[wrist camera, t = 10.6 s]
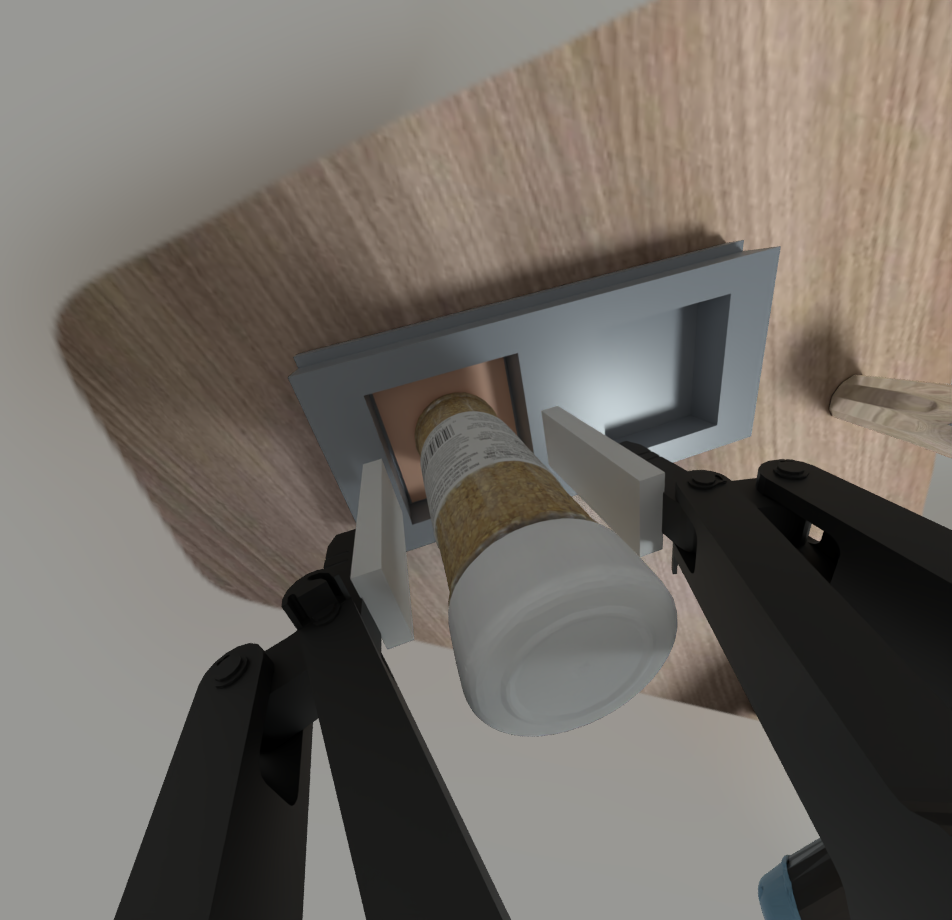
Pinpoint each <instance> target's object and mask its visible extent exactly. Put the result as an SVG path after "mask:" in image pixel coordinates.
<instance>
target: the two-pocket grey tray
mask: <svg viewBox="0 0 952 920" xmlns="http://www.w3.org/2000/svg"><path fill="white" fill-rule="evenodd" d="M743 243H744V240H741V241H735V242H729V243H724V244H720V245H716V246H713V247H709V248H705V249H701V250H697V251H693V252H689V253H686V254H682V255H678V256H674V257H670V258H666V259H662V260H659V261H655V262H651V263H647V264H643V265H639V266H635V267H631V268H628V269H624V270H620V271H616V272H612V273H608V274H604V275H601V276H597V277H593V278H589V279H585V280H581V281H577V282H574V283H570V284H566V285H562V286H558V287H554V288H550V289H547V290H543V291H539V292H535V293H531V294H527V295H523V296H520V297H516V298H512V299H508V300H504V301H500V302H496V303H493V304H489V305H485V306H481V307H477V308H473V309H469V310H466V311H462V312H458V313H454V314H450V315H446V316H442V317H439V318H435V319H431V320H427V321H423V322H419V323H415V324H412V325H408V326H404V327H400V328H396V329H392V330H388V331H384V332H381V333H377V334H373V335H369V336H365V337H361V338H357V339H354V340H350V341H346V342H342V343H338V344H334V345H330V346H327V347H323V348H319V349H315V350H311V351H307V352H303V353H300V354H297V355H296V356H294V357H293V358H294V360H295V362H296V364H297V367H298V369H297V370H296V371H295V372H293V373H292V374H291V375H290V376H289V377H288V379H289V381H290V383H291V385H292V387H293V390H294V392H295V394H296V396H297V398H298V400H299V402H300V404H301V407H302V409H303V411H304V413H305V415H306V417H307V419H308V422H309V424H310V426H311V428H312V430H313V432H314V434H315V436H316V439H317V441H318V443H319V445H320V447H321V449H322V451H323V453H324V456H325V458H326V460H327V462H328V464H329V466H330V468H331V471H332V473H333V475H334V477H335V479H336V481H337V483H338V485H339V488H340V490H341V492H342V494H343V496H344V498H345V500H346V503H347V505H348V507H349V509H350V511H351V513H352V515H353V517H354V520H355V522H356V523H357V514H358V506H359V497H360V488H361V479H362V470H363V464H366V463H369V462H372V461H376V460H379V459H382V461H383V464H384V466H385V469H386V472H387V474H388V477H389V479H390V482H391V484H392V487H393V490H394V492H395V495H396V497H397V500H398V503H399V505H400V508H401V510H402V515H403V525H404V536H405V546H406V552H407V551H410V550H413V549H416V548H419V547H422V546H425V545H428V544H431V543H434V542H436V540H435V536H434V531H433V526H432V522H431V517H430V512H429V507H428V502H427V497H426V492H425V487H424V482H423V476H422V471H421V465H420V459H421V457H420V455H419V453H418V451H417V449H416V442H415V428H416V425H417V421H418V418H419V417H420V415H421V414H422V413H423V411H424V409H425V408H426V407H427V406H428V405H429V404H430V403H431V402H432V401H434V400H435V399H437V398H439V397H442V396H444V395H446V394H451V393H463V392H466V393H469V394H473V395H476V396H478V397H480V398H482V399H483V400H485V401H486V402H487V403H488V405H490V406H491V407H492V408H493V410H494V411H495V413H496V415H497V417H498V418H499V419H500V420H502V421H503V422H504V423H505V424H506V425H507V426H508V427H509V428H510V429H511V430H512V431H513V432H514V433H515V434H516V435H517V436H518V437H519V438H520V440H521V441H522V442H523V443H524V444H525V445H526V446H527V447H528V448H529V449H530V451H531V452H532V453H533V454H534V455H535V456H536V457H537V458H538V459H539V460H540V461H541V462H542V463H543V464H544V465H545V466H546V467H547V468H548V469H549V471H550V472H551V473H552V474H553V475H554V476H555V477H556V478H557V479H558V481H559V482H560V483H561V485H562V486H563V488H564V490H565V491H566V492H567V493H568V494H569V495H570V496H574V495H577V493H576V492H575V491H574V490H573V489H572V488H571V487H570V486H569V485H568V484H567V483H566V482H565V481H564V480H563V479H562V478H561V477H560V476H559V475H558V474H557V473H556V472H555V471H554V470H553V469H552V468H551V467H550V466H549V462H548V455H547V448H546V441H545V434H544V427H543V420H542V413H541V411H542V410H545V409H548V408H552V407H555V406H559V407H560V408H562V409H564V410H565V411H567V412H568V413H570V414H572V415H573V416H575V417H576V418H578V419H580V420H581V421H583V422H585V423H586V424H588V425H589V426H591V427H593V428H594V429H596V430H597V431H599V432H601V433H602V434H604V435H605V436H607V437H609V438H610V439H612V440H614V441H615V442H617V443H621V442H624V441H629V442H633V443H637V444H641V445H642V446H644V447H646V448H648V449H649V450H651V452H655V453H656V454H658V455H659V456H660V457H661V456H662V457H663V458H665V459H667V460H669V461H670V462H672V463H673V462H676V461H679V460H682V459H685V458H688V457H691V456H694V455H697V454H700V453H703V452H706V451H709V450H712V449H715V448H717V447H720V446H723V445H726V444H729V443H732V442H735V441H738V440H741V439H744V438H747V437H750V436H751V434H752V427H753V421H754V414H755V408H756V401H757V395H758V389H759V382H760V376H761V369H762V363H763V357H764V350H765V344H766V337H767V331H768V324H769V318H770V312H771V305H772V299H773V292H774V286H775V279H776V273H777V267H778V260H779V254H780V247H781V246H779V247H771V248H763V249H755V250H748V251H743Z"/></svg>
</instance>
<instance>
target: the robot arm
mask: <svg viewBox="0 0 952 920" xmlns="http://www.w3.org/2000/svg"><path fill="white" fill-rule="evenodd" d="M541 413H542V420H543V427H544V434H545V441H546V448H547V455H548V462H549V466H550V467H551V468H552V469H553V470H554V471H555V472H556V473H557V474H558V475H559V476H560V477H561V478H562V479H563V480H564V481H565V482H566V483H567V484H568V485H569V486H570V487H571V488H572V489H573V490H574V491H575V492H576V493H577V494H578V495H579V496H580V497H581V498H582V499H583V500H584V501H585V502H586V503H587V504H588V505H589V506H590V507H591V508H592V509H593V510H594V511H595V512H596V513H597V514H598V515H599V516H600V517H601V518H602V519H603V520H604V521H605V522H606V523H607V524H608V525H609V526H610V527H611V529H612V530H613V531H614V532H615V533H616V534H617V535H618V536H619V537H620V538H621V539H622V540H623V541H624V542H625V543H626V544H627V545H628V546H629V547H630V548H631V549H632V550H633V551H634V552H635V553H636V554H637V555H638V556H639V557H642V556H645V555H648V554H650V553H653V552H656V551H659V550H661V549H662V547H663V534H664V535H666V536H667V537H668V538H669V539H670V540H671V541H673V550H672V573H673V574H677V566H678V564H679V566H680V568H681V570H682V573H683V574H684V576H685V578H686V580H687V582H688V584H689V586H690V588H691V590H692V591H693V593H694V595H695V597H696V599H697V601H698V603H699V605H700V607H701V609H702V611H703V613H704V615H705V617H706V618H707V620H708V622H709V624H710V626H711V628H712V630H713V632H714V634H715V636H716V638H717V640H718V642H719V644H720V645H721V647H722V649H723V651H724V653H725V655H726V657H727V659H728V661H729V663H730V665H731V667H732V669H733V670H734V672H735V674H736V676H737V678H738V680H739V682H740V684H741V686H742V688H743V690H744V692H745V694H746V696H747V697H748V699H749V701H750V703H751V705H752V707H753V709H754V711H755V713H756V715H757V717H758V719H759V721H760V723H761V724H762V726H763V728H764V730H765V732H766V734H767V736H768V738H769V740H770V741H771V744H772V746H773V748H774V750H775V751H776V753H777V755H778V757H779V759H780V761H781V763H782V765H783V767H784V769H785V771H786V773H787V775H788V776H789V778H790V780H791V782H792V784H793V786H794V788H795V790H796V792H797V794H798V796H799V798H800V800H801V802H802V803H803V805H804V807H805V809H806V811H807V813H808V815H809V817H810V819H811V821H812V823H813V825H814V827H815V829H816V831H817V832H818V834H819V836H820V838H819V839H817V840H815V841H814V842H812V843H810V844H809V845H807V846H805V847H804V848H802V849H801V850H799V851H797V852H795V853H794V854H792V855H786V856H784V857H783V859H782V862H781V863H780V864H779V865H777V866H776V867H775V868H773V869H772V870H771V871H769V872H768V873H767V874H765V875H764V876H763V877H762V878H761V880H760V882H759V885H758V897H759V901H760V905H761V909H762V913H763V916H764V918H765V920H952V530H950V529H948V528H946V527H944V526H942V525H940V524H937V523H935V522H933V521H931V520H929V519H927V518H925V517H922V516H920V515H918V514H916V513H914V512H912V511H910V510H908V509H905V508H903V507H901V506H899V505H897V504H895V503H893V502H890V501H888V500H886V499H884V498H882V497H880V496H878V495H875V494H873V493H871V492H869V491H867V490H865V489H863V488H860V487H858V486H856V485H854V484H852V483H850V482H848V481H845V480H843V479H841V478H839V477H837V476H835V475H833V474H830V473H828V472H826V471H824V470H822V469H820V468H818V467H815V466H813V465H810V464H807V463H804V462H800V461H795V460H789V459H786V460H785V459H779V460H772V461H768V462H765V463H763V464H761V466H760V467H759V469H758V474H757V478H753V479H745V480H736V481H731V480H730V479H728V478H727V477H726V476H724V475H722V474H719V473H716V472H713V471H706V470H693V471H686V470H684V469H683V468H681V467H679V466H677V465H676V464H674V463H672V462H670V461H669V460H667V459H665V458H663V457H662V456H661V457H660V456H659V455H658V454H656V453H655V452H651V450H649V449H648V448H646V447H644V446H642V445H641V444H637V443H633V442H629V441H624V442H621V443H617V442H615V441H614V440H612V439H610V438H609V437H607V436H605V435H604V434H602V433H601V432H599V431H597V430H596V429H594V428H593V427H591V426H589V425H588V424H586V423H585V422H583V421H581V420H580V419H578V418H576V417H575V416H573V415H572V414H570V413H568V412H567V411H565V410H564V409H562V408H560V407H559V406H555V407H552V408H548V409H545V410H542V411H541ZM811 524H813V525H815V526H817V527H818V528H820V529H821V530H823V531H824V532H823V535H822V539H821V541H817V540H815V539H813V538H811V537H810V536H808V535H809V531H810V528H811ZM282 608H283V610H284V611H285V612H286V614H287V615H288V617H289V618H290V620H291V621H292V623H293V624H294V626H295V627H296V628H297V631H296V632H295V633H293V634H292V635H290V636H289V637H288V638H286V639H284V640H282V641H281V642H279V643H278V644H276V645H274V646H273V647H271V648H269V649H268V650H266V651H264V650H263V649H262V648H261V647H260V646H259V645H258V644H253V643H248V644H245V645H241V646H238V647H236V648H235V649H233V650H231V651H229V652H227V653H226V654H225V655H224V656H222V657H221V658H220V659H218V660H217V661H216V662H215V663H214V664H213V665H212V666H211V668H210V669H209V670H208V671H207V672H206V673H205V675H204V676H203V678H202V680H201V682H200V684H199V686H198V689H197V691H196V694H195V697H194V700H193V702H192V705H191V708H190V711H189V714H188V716H187V719H186V722H185V724H184V727H183V730H182V733H181V735H180V738H179V741H178V744H177V747H176V750H175V752H174V755H173V758H172V760H171V763H170V766H169V769H168V771H167V774H166V777H165V780H164V782H163V785H162V788H161V791H160V794H159V796H158V799H157V802H156V805H155V807H154V810H153V813H152V816H151V819H150V821H149V824H148V827H147V829H146V832H145V835H144V838H143V841H142V843H141V846H140V849H139V852H138V854H137V857H136V860H135V863H134V866H133V868H132V871H131V874H130V877H129V879H128V882H127V885H126V888H125V890H124V893H123V896H122V899H121V902H120V904H119V907H118V910H117V912H116V915H115V918H114V920H302V918H303V899H304V880H305V861H306V842H307V824H308V806H309V785H310V768H311V749H312V729H313V722H314V721H315V720H317V719H318V718H319V722H320V725H321V730H322V735H323V739H324V743H325V747H326V751H327V756H328V760H329V764H330V768H331V773H332V776H333V781H334V785H335V789H336V794H337V798H338V802H339V806H340V810H341V815H342V819H343V823H344V827H345V832H346V836H347V840H348V844H349V848H350V853H351V857H352V861H353V865H354V870H355V874H356V878H357V882H358V886H359V891H360V895H361V899H362V904H363V908H364V912H365V916H366V920H511V919H510V916H509V914H508V912H507V910H506V909H505V906H504V904H503V902H502V900H501V898H500V896H499V894H498V892H497V890H496V888H495V885H494V883H493V882H492V879H491V877H490V875H489V873H488V871H487V869H486V867H485V865H484V863H483V861H482V859H481V857H480V855H479V853H478V851H477V848H476V846H475V845H474V842H473V840H472V838H471V836H470V834H469V832H468V830H467V828H466V826H465V824H464V822H463V819H462V818H461V815H460V813H459V811H458V809H457V807H456V805H455V803H454V801H453V799H452V797H451V795H450V793H449V791H448V789H447V786H446V784H445V782H444V780H443V778H442V776H441V774H440V772H439V770H438V768H437V766H436V764H435V762H434V759H433V757H432V756H431V753H430V752H429V749H428V748H427V745H426V743H425V741H424V739H423V737H422V735H421V733H420V731H419V729H418V727H417V724H416V722H415V720H414V718H413V716H412V714H411V712H410V710H409V708H408V706H407V704H406V702H405V700H404V698H403V695H402V694H401V691H400V689H399V687H398V686H397V683H396V681H395V679H394V677H393V675H392V673H391V671H390V669H389V667H388V664H387V663H386V661H385V659H384V657H383V655H382V653H381V638H382V640H383V642H384V644H385V645H386V648H387V649H390V648H393V647H396V646H398V645H401V644H404V643H407V642H409V641H412V640H414V631H413V621H412V610H411V600H410V589H409V578H408V568H407V557H406V546H405V536H404V525H403V515H402V510H401V508H400V505H399V503H398V500H397V497H396V495H395V492H394V490H393V487H392V484H391V482H390V479H389V477H388V474H387V472H386V469H385V466H384V464H383V461H382V459H379V460H376V461H372V462H369V463H366V464H363V470H362V479H361V488H360V497H359V506H358V514H357V523H356V529H354V530H350V531H347V532H344V533H341V534H338V535H336V536H335V538H334V539H333V540H332V542H331V543H330V545H329V546H328V549H327V554H326V560H325V563H324V569H321V570H316V571H314V572H311V573H309V574H307V575H305V576H304V577H302V578H301V579H299V580H298V581H296V582H295V583H294V584H293V585H292V586H291V587H290V588H289V589H288V590H287V592H286V594H285V595H284V597H283V599H282Z"/></svg>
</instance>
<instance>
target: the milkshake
mask: <svg viewBox="0 0 952 920" xmlns="http://www.w3.org/2000/svg"><path fill="white" fill-rule="evenodd" d="M829 410H830V412H831V414H832V416H833V417H835V418H837V419H840V420H843V421H846V422H849V423H852V424H855V425H858V426H861V427H864V428H867V429H869V430H872V431H875V432H878V433H881V434H884V435H887V436H890V437H893V438H896V439H899V440H902V441H905V442H907V443H910V444H913V445H916V446H919V447H922V448H925V449H927V450H930V451H933V452H936V453H938V454H941V455H944V456H947V457H949V458H952V384H943V383H933V382H924V381H914V380H905V379H895V378H886V377H876V376H866V375H853V376H852V377H850V378H849V379H847V380H846V381H844V382H842V383H841V385H840V386H839V387H838V389H837V390H836V392H835V393H834V394H833V396H832V399H831V403H830V407H829Z"/></svg>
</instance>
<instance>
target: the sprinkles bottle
mask: <svg viewBox="0 0 952 920" xmlns="http://www.w3.org/2000/svg"><path fill="white" fill-rule="evenodd" d="M415 442H416V449H417V451H418V453H419V455H420V457H421V459H420V465H421V471H422V476H423V482H424V487H425V492H426V497H427V502H428V507H429V512H430V517H431V522H432V526H433V531H434V536H435V540H436V543H437V546H438V548H439V549H440V552H441V556H442V561H443V564H444V569H445V573H446V577H447V582H448V587H449V591H450V595H449V601H448V604H449V611H448V616H449V629H450V634H451V640H452V645H453V650H454V655H455V659H456V664H457V668H458V673H459V677H460V681H461V685H462V689H463V692H464V695H465V698H466V700H467V702H468V704H469V706H470V708H471V709H472V711H473V712H474V713H475V714H476V716H477V717H478V718H479V719H481V720H482V721H483V722H484V723H486V724H487V725H489V726H490V727H492V728H494V729H496V730H498V731H501V732H504V733H508V734H511V735H518V736H545V735H554V734H558V733H562V732H566V731H570V730H573V729H576V728H579V727H581V726H585V725H588V724H590V723H592V722H594V721H596V720H598V719H601V718H603V717H604V716H606V715H608V714H610V713H612V712H613V711H615V710H616V709H618V708H620V707H621V706H622V705H624V704H625V703H627V702H628V701H629V700H630V699H632V698H633V697H634V696H635V695H637V694H638V693H639V692H640V691H641V690H642V689H643V688H644V687H645V686H646V685H647V684H648V683H649V682H650V681H651V680H652V679H653V678H654V677H655V675H656V674H657V673H658V671H659V670H660V669H661V667H662V666H663V664H664V662H665V661H666V659H667V657H668V656H669V653H670V651H671V649H672V647H673V644H674V641H675V638H676V632H677V611H676V607H675V603H674V599H673V597H672V596H671V594H670V592H669V591H668V589H667V588H666V586H665V585H664V584H663V582H662V581H661V580H660V579H659V578H658V577H657V576H656V574H655V573H654V572H653V571H652V570H651V569H650V568H649V567H648V566H647V565H646V564H645V562H644V561H643V560H642V559H641V558H640V557H639V556H638V555H637V554H636V553H635V552H634V551H633V550H632V549H631V548H630V547H629V546H628V545H627V544H626V543H625V542H624V541H623V540H622V539H621V538H620V537H619V536H618V535H617V534H616V533H615V532H614V531H612V530H611V529H609V528H607V527H605V526H603V525H601V524H599V523H597V522H596V521H595V520H593V519H592V518H591V517H590V516H589V515H588V514H587V513H586V512H585V511H584V510H583V509H582V508H581V506H580V505H579V504H578V503H577V502H575V501H574V500H573V498H572V497H571V496H570V495H569V494H568V493H567V492H566V491H565V490H564V488H563V486H562V485H561V483H560V482H559V481H558V479H557V478H556V477H555V476H554V475H553V474H552V473H551V472H550V471H549V469H548V468H547V467H546V466H545V465H544V464H543V463H542V462H541V461H540V460H539V459H538V458H537V457H536V456H535V455H534V454H533V453H532V452H531V451H530V449H529V448H528V447H527V446H526V445H525V444H524V443H523V442H522V441H521V440H520V438H519V437H518V436H517V435H516V434H515V433H514V432H513V431H512V430H511V429H510V428H509V427H508V426H507V425H506V424H505V423H504V422H503V421H502V420H500V419H499V418H498V417H497V415H496V413H495V411H494V410H493V408H492V407H491V406H490V405H488V403H487V402H486V401H485V400H483V399H482V398H480V397H478V396H476V395H473V394H469V393H466V392H463V393H451V394H446V395H444V396H442V397H439V398H437V399H435V400H434V401H432V402H431V403H430V404H429V405H428V406H427V407H426V408H425V409H424V411H423V413H422V414H421V415H420V417H419V418H418V421H417V425H416V428H415Z"/></svg>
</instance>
